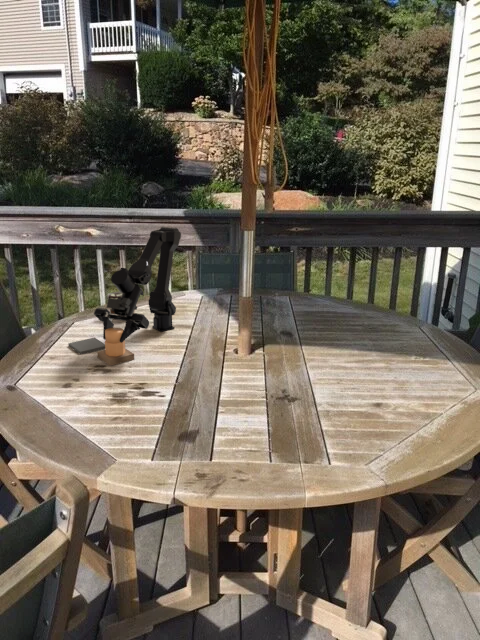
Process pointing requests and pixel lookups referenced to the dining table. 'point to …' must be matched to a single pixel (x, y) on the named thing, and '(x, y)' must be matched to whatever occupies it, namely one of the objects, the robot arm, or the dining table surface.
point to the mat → (87, 345)
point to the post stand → (115, 357)
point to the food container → (115, 296)
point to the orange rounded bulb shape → (114, 342)
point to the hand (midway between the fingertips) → (112, 340)
